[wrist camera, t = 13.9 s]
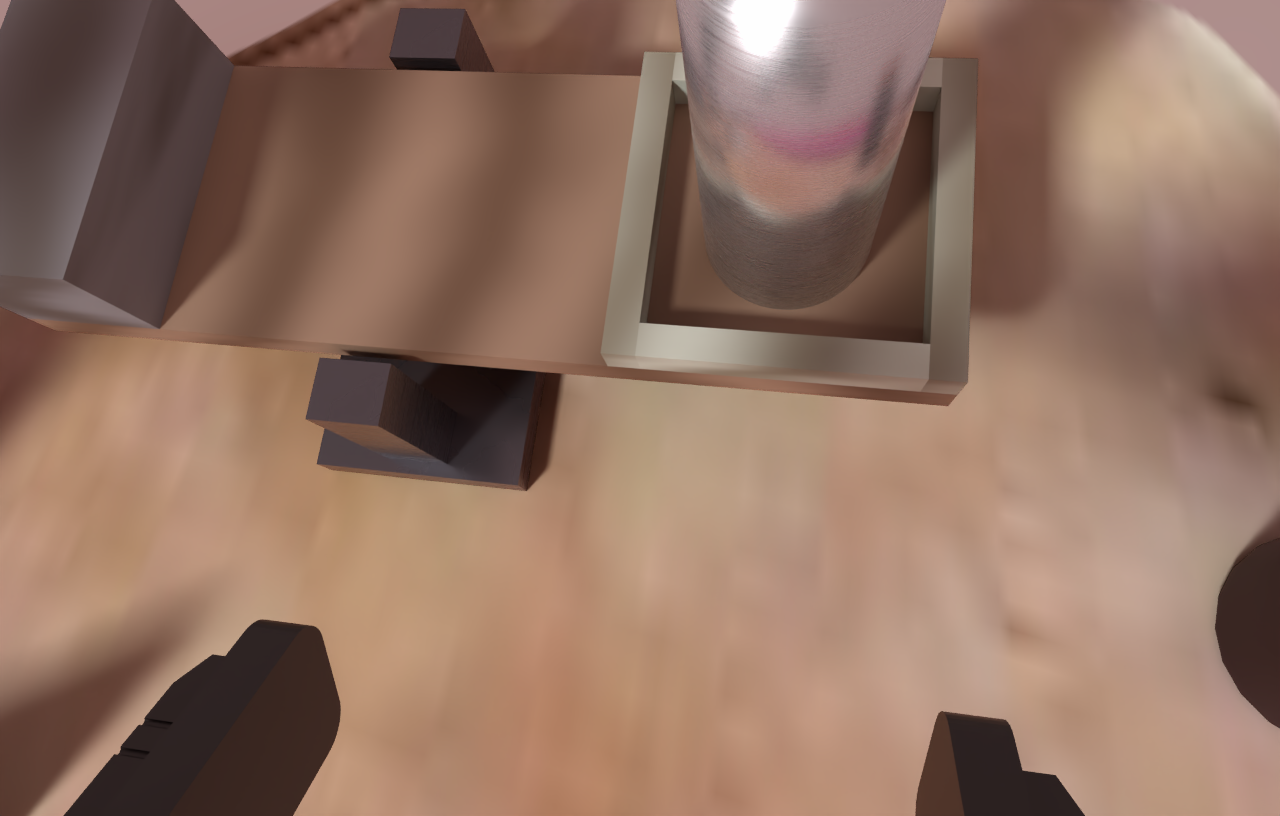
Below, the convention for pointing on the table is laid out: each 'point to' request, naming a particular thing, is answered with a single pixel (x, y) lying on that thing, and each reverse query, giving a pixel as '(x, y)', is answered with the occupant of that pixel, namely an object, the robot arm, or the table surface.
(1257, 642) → the bottle
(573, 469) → the table surface
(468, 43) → the fulcrum stand
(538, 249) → the balance beam
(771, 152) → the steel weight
